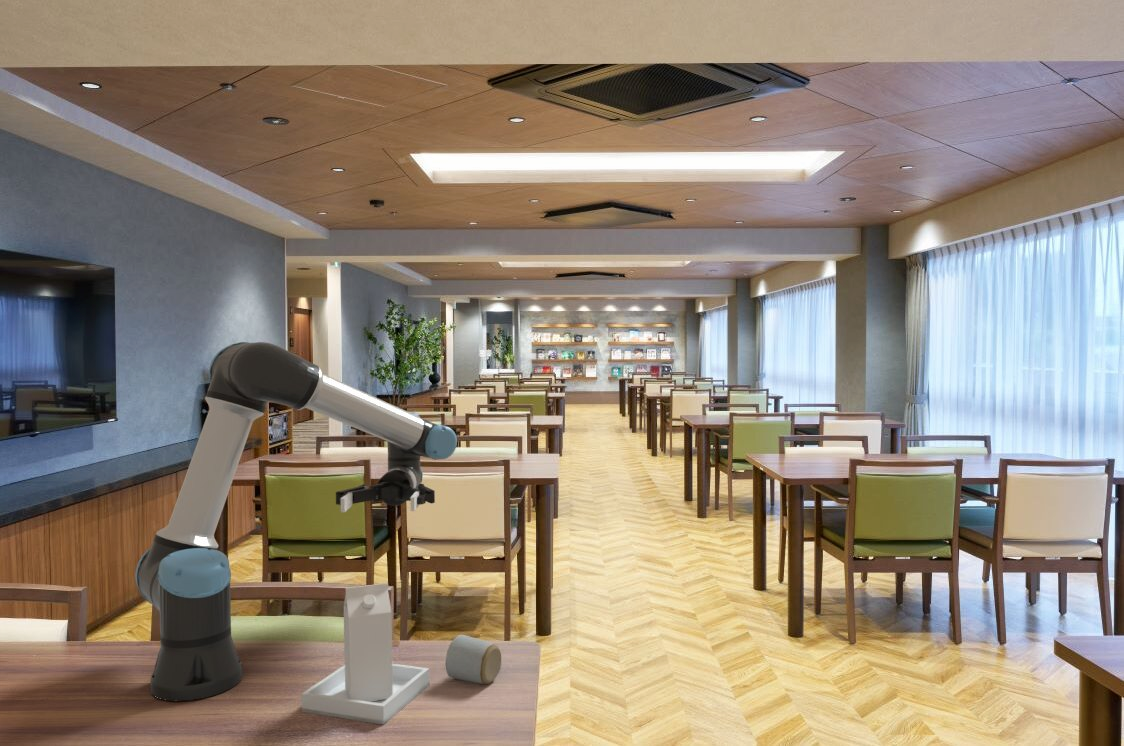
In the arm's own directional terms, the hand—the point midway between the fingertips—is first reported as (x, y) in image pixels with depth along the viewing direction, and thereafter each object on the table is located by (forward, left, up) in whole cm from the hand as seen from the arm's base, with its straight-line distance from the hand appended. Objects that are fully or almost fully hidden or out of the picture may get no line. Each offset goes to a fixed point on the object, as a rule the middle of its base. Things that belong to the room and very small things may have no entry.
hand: (377, 504), depth 153 cm
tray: (+8, -17, -30) cm, 35 cm away
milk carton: (+8, -17, -30) cm, 35 cm away
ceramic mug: (+22, -3, -30) cm, 38 cm away
